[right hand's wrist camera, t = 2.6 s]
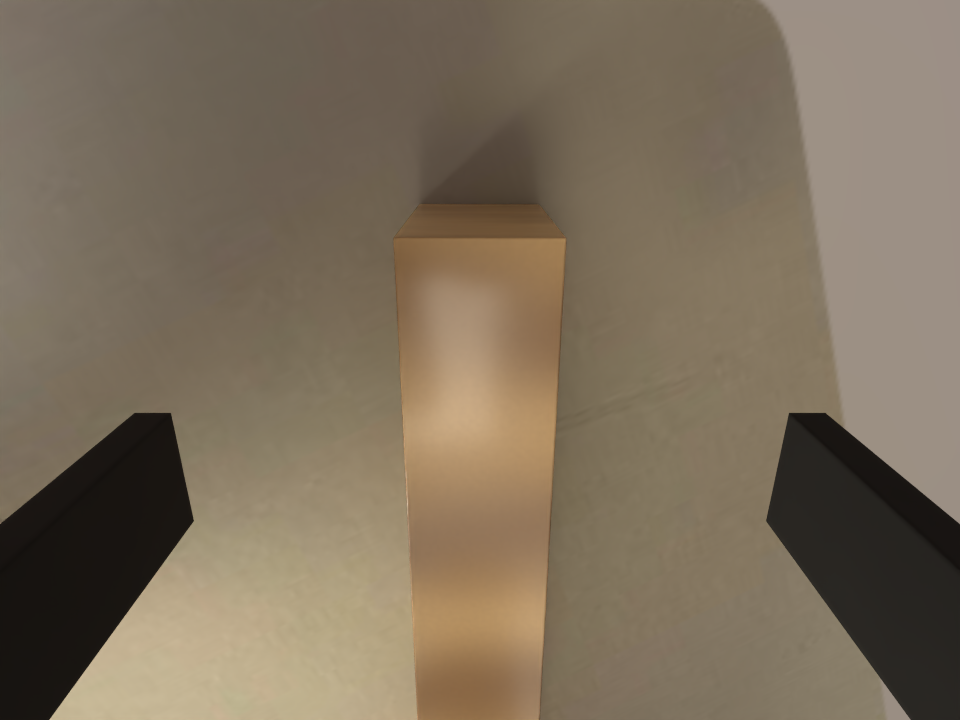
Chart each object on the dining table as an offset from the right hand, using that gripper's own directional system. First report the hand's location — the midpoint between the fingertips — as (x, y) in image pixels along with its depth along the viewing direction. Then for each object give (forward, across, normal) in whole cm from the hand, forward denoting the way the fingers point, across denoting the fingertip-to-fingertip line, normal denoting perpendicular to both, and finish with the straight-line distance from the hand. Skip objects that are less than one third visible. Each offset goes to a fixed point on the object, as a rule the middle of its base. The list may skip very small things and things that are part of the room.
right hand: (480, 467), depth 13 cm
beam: (+14, 0, -23) cm, 27 cm away
